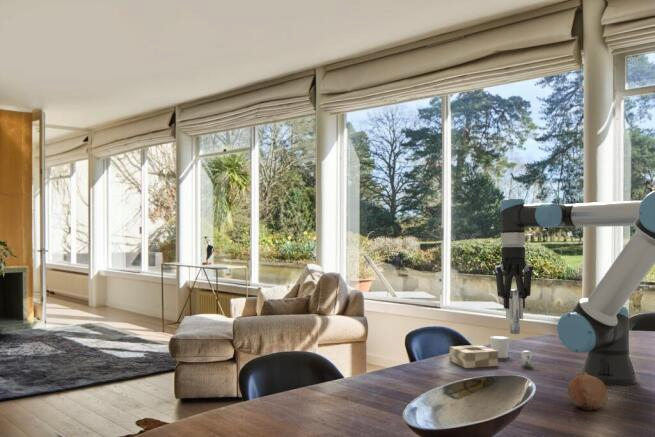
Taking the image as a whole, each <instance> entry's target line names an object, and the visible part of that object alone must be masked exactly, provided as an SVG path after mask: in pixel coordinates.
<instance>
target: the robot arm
mask: <svg viewBox="0 0 655 437" xmlns="http://www.w3.org/2000/svg"><path fill="white" fill-rule="evenodd" d="M499 213H500V230H501V231H500V244H501V248H500V250H501V251H500V254H501V255H500V256H501V263H500V264H499V265H497V266H494V267H493V270H494V273H495V280H496V281H495V282H496V289H497V290H496V291H497V292H496V293H497V297H499V298H502V300H503V309H504V310H505V319H507V320H509V319H510V320H512V319H513V315H512V299H509V298H510V293H511V290H512V283H513V278H515V284H516V290H519V309H520V320H523V319H524V309H525V308H526V299H527V298H528V297H530V296H531V292H532V291H531V290H532V288H531V287H532V272H533V271H534V266H533V265H529V264H527V262H526V247H525V245H526V228H544V229H545V228H563V229H565V228H590V227H591V228H593V227H596V228H597V227H601V228H603V227H607V228H608V227H634V229H635V231H634V232H633V235H631V237H630V238H629V240H628V242H626V244H625V246H624V247H623V249H622V250H621V251H620V253H619V254H618V256H617V257H616V259H615V260H614V261H613V263H612V264H611V266H610V267H609V269H608V270H607V271H606V272H605V274H604V275H603V277H602V278H601V280H600V281H599V283H598V284H597V285H596V287H595V288H594V289H593V291H592V292H591V293H590V295H589V297H583V298H581V299H580V300H579V301H578V302H577V303H576V305H575V306H574V308H573V309H572V310H571V311H570V312H569V311H568V312H566V313H564V314H563V315H562V316H561V317H560V318H559V319H558V321H557V324H556V333H557V335H558V338H559V340H560V343H561V344H562V345H563V347H564V348H566V349H568V350H569V351H571V352H574V353H577V354H583V353H584V354H585V353H587V354H586V358H585V360H584V362H583V363H584V364H583V368H582V369H581V373H582V372H586V373H588V374H589V375H591V376H594V377H597V378H598V379H600V380H601V381H602V382H603V383H604V384H605V386H617V387H619V386H620V387H621V386H623V387H624V386H631V385H635V384H637V375H636V372H635V369H634V366H633V363H632V361H631V360H632V359H631V357H630V316H629V309H628V308H627V307H625V306H624V305H625V304H626V302H628V300H629V299H630V298H631V296H632V295H633V294H634V293H635V291H636V290H637V288H638V287H639V286H640V284H641V283H642V282H643V280H644V279H645V277H646V276H647V275H648V273H649V272H650V271H651V269H653V267H654V266H655V190H653V191H651V192H649V193H648V194H646V195H645V197H644V198H643V199H642V200H641V199H640V200H624V201H606V202H605V201H603V202H599V201H598V202H584V203H581V202H579V203H565V204H564V203H561V204H560V203H556V202H543V203H538V202H537V203H528V204H527V203H525V200H524V199H523V198H517V197H516V198H515V197H514V198H504V199H503V198H502V200H501V201H500V211H499ZM503 272H504V274H503Z"/></svg>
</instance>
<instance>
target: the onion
mask: <svg viewBox="0 0 655 437" xmlns="http://www.w3.org/2000/svg"><path fill="white" fill-rule="evenodd" d="M567 388H568V389H567V392H568V396H569V398H570V400H571V402H573V403H574V405H576V406H577V407H579V408H581V409H583V410H584V411H590V412H592V411H596V410H598V409H600V408H601V407H602V406H603V405H606V404H607V402H608V395H609V394H608V393H609V392H608V389H607V385H605V384H604V383H603V382H602V381H601V380H600V379H598V378H597V377H594V376H591V375H589V374H588V373H586V372H582V371H581V373H577V376H575V377H573V378H572V379H571V380H570V381H569V384H568V387H567Z"/></svg>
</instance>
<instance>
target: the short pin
mask: <svg viewBox="0 0 655 437" xmlns="http://www.w3.org/2000/svg"><path fill="white" fill-rule="evenodd" d="M520 353H521V354H520V356H521V358H520V359H521V361H520V363H521V367H522V368H532V351H530V350H521V351H520Z"/></svg>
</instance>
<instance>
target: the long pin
mask: <svg viewBox="0 0 655 437" xmlns="http://www.w3.org/2000/svg"><path fill="white" fill-rule="evenodd" d="M509 299H512V315H513V319H512V320H510V319H508V321H509V334H511V335H520V334H521V319H520V309H519V290H517V289H511V293H510V298H509Z"/></svg>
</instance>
